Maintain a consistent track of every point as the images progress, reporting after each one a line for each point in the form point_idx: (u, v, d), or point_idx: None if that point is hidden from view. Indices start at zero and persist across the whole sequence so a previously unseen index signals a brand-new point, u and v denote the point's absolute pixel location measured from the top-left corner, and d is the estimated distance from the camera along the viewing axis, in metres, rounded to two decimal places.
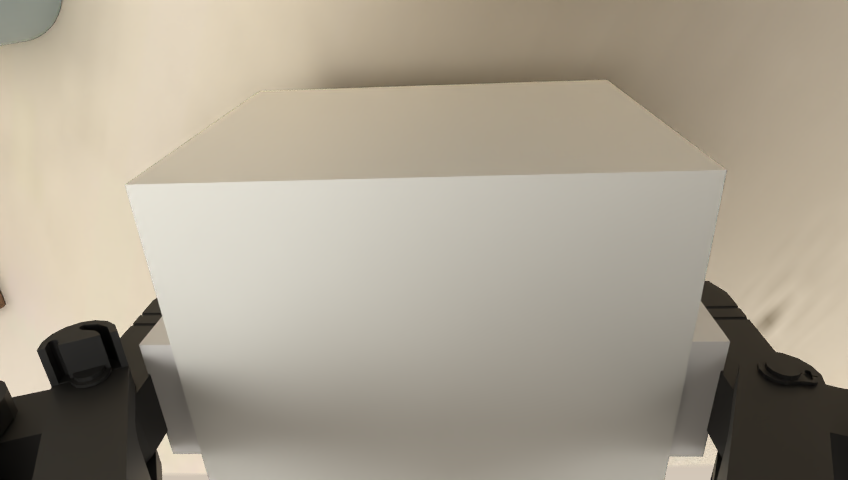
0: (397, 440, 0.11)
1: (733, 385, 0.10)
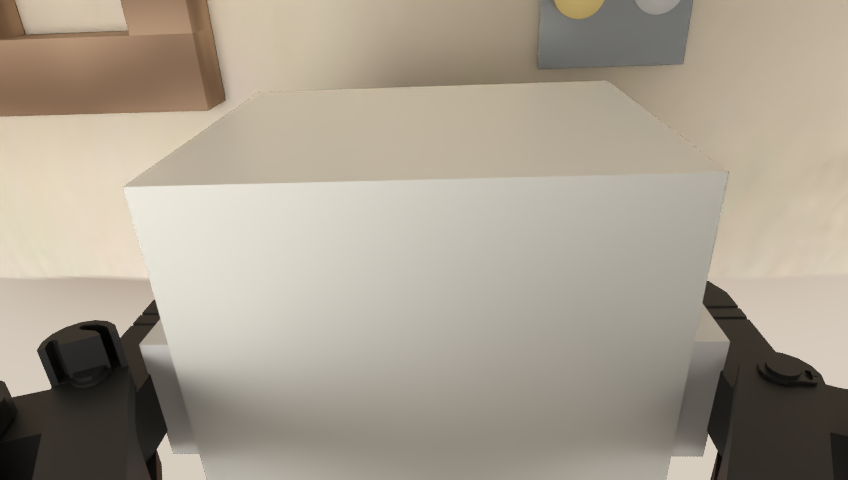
0: (398, 443, 0.11)
1: (733, 385, 0.10)
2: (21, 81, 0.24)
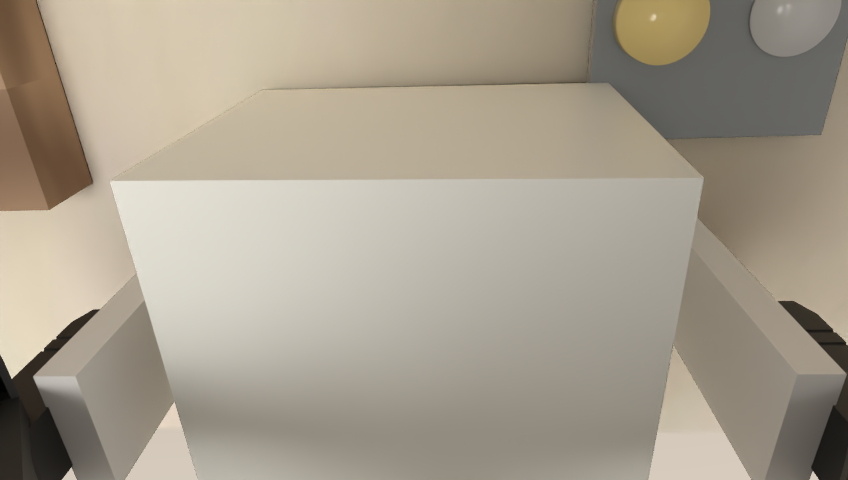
0: (377, 439, 0.11)
1: None
2: None
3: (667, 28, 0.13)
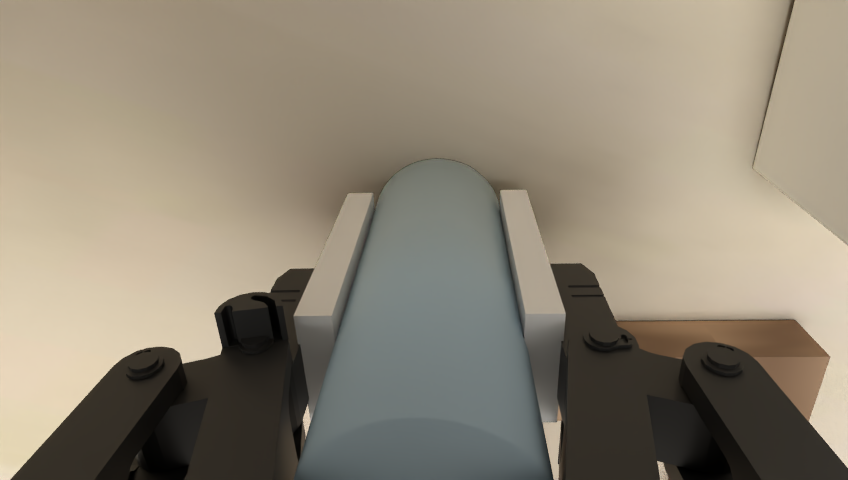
0: None
1: (566, 358, 0.11)
2: None
3: None
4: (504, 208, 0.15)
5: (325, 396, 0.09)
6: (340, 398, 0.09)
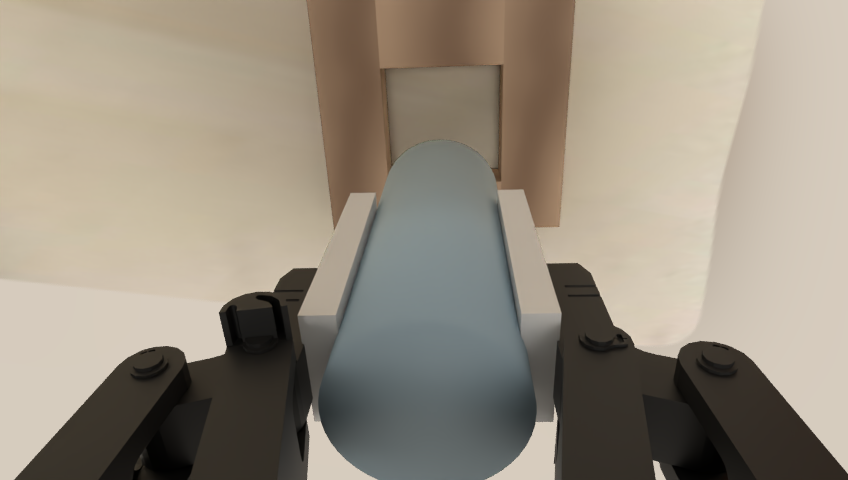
0: None
1: (561, 358, 0.11)
2: None
3: None
4: (501, 208, 0.16)
5: (348, 316, 0.11)
6: (360, 314, 0.11)
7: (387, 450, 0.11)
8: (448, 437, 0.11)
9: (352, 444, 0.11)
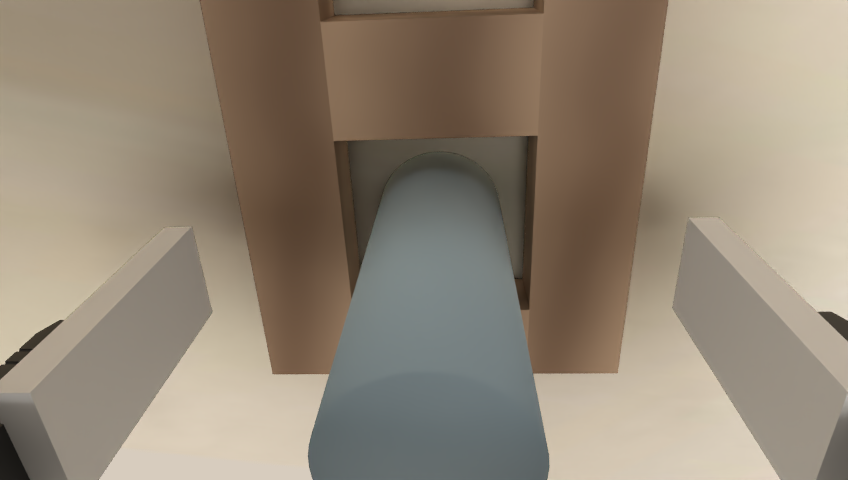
0: None
1: None
2: None
3: None
4: (710, 241, 0.13)
5: (339, 360, 0.10)
6: (353, 359, 0.10)
7: None
8: None
9: None
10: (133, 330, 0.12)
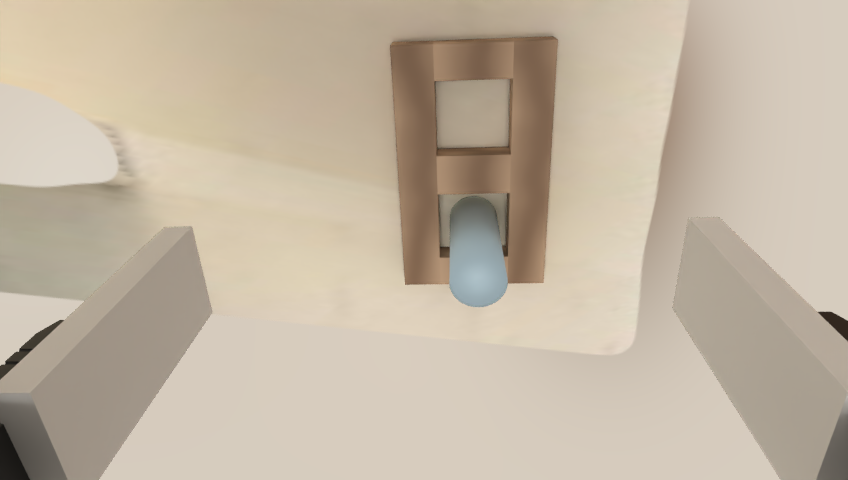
0: None
1: None
2: (532, 146, 0.44)
3: None
4: (710, 241, 0.13)
5: (455, 258, 0.40)
6: (460, 256, 0.40)
7: (467, 294, 0.40)
8: (484, 289, 0.40)
9: (457, 292, 0.40)
10: (133, 330, 0.12)
